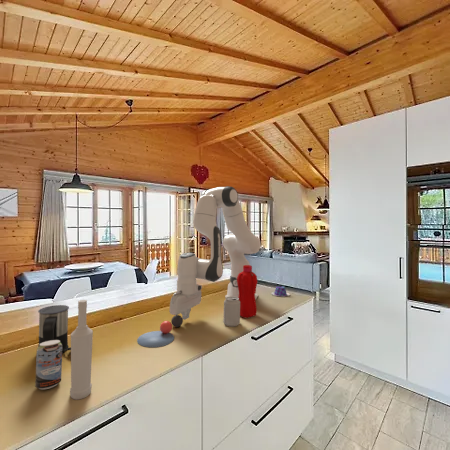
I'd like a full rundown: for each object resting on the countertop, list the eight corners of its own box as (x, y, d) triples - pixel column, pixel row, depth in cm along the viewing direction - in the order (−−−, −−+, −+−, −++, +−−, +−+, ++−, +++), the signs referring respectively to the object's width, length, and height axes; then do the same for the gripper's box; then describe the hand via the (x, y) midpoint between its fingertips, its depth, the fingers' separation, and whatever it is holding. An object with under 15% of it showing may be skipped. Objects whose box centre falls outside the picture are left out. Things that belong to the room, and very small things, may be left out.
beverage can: (35, 396, 70) (35, 351, 70) (35, 382, 76) (35, 340, 76) (63, 388, 74) (63, 345, 74) (60, 375, 80) (61, 335, 80)
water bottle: (247, 320, 127) (249, 268, 126) (233, 313, 136) (234, 264, 135) (261, 317, 132) (263, 266, 132) (247, 310, 141) (248, 263, 141)
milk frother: (36, 349, 95) (36, 307, 94) (85, 337, 105) (85, 299, 104) (40, 367, 84) (41, 320, 83) (94, 352, 94) (95, 310, 94)
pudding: (293, 297, 170) (293, 288, 170) (276, 298, 166) (277, 289, 166) (283, 291, 182) (284, 284, 181) (267, 292, 178) (268, 285, 178)
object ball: (166, 320, 115) (159, 319, 110) (176, 322, 112) (169, 321, 108) (163, 332, 113) (155, 331, 109) (172, 335, 111) (165, 334, 106)
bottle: (66, 395, 71) (67, 301, 70) (85, 385, 75) (86, 296, 75) (76, 402, 68) (77, 305, 68) (95, 392, 72) (97, 300, 72)
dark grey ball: (168, 318, 116) (169, 328, 117) (177, 320, 114) (178, 330, 115) (175, 312, 120) (177, 321, 121) (184, 313, 118) (185, 324, 119)
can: (238, 328, 118) (239, 301, 118) (221, 326, 119) (222, 299, 119) (240, 321, 125) (241, 296, 125) (225, 320, 127) (225, 295, 127)
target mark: (154, 328, 115) (154, 328, 115) (181, 336, 108) (181, 335, 108) (129, 341, 102) (129, 341, 102) (157, 350, 96) (157, 350, 96)
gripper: (178, 295, 112) (177, 327, 112) (203, 285, 130) (203, 313, 130) (166, 292, 115) (165, 324, 115) (193, 283, 133) (192, 310, 133)
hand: (185, 318), depth 123 cm, fingers closed
